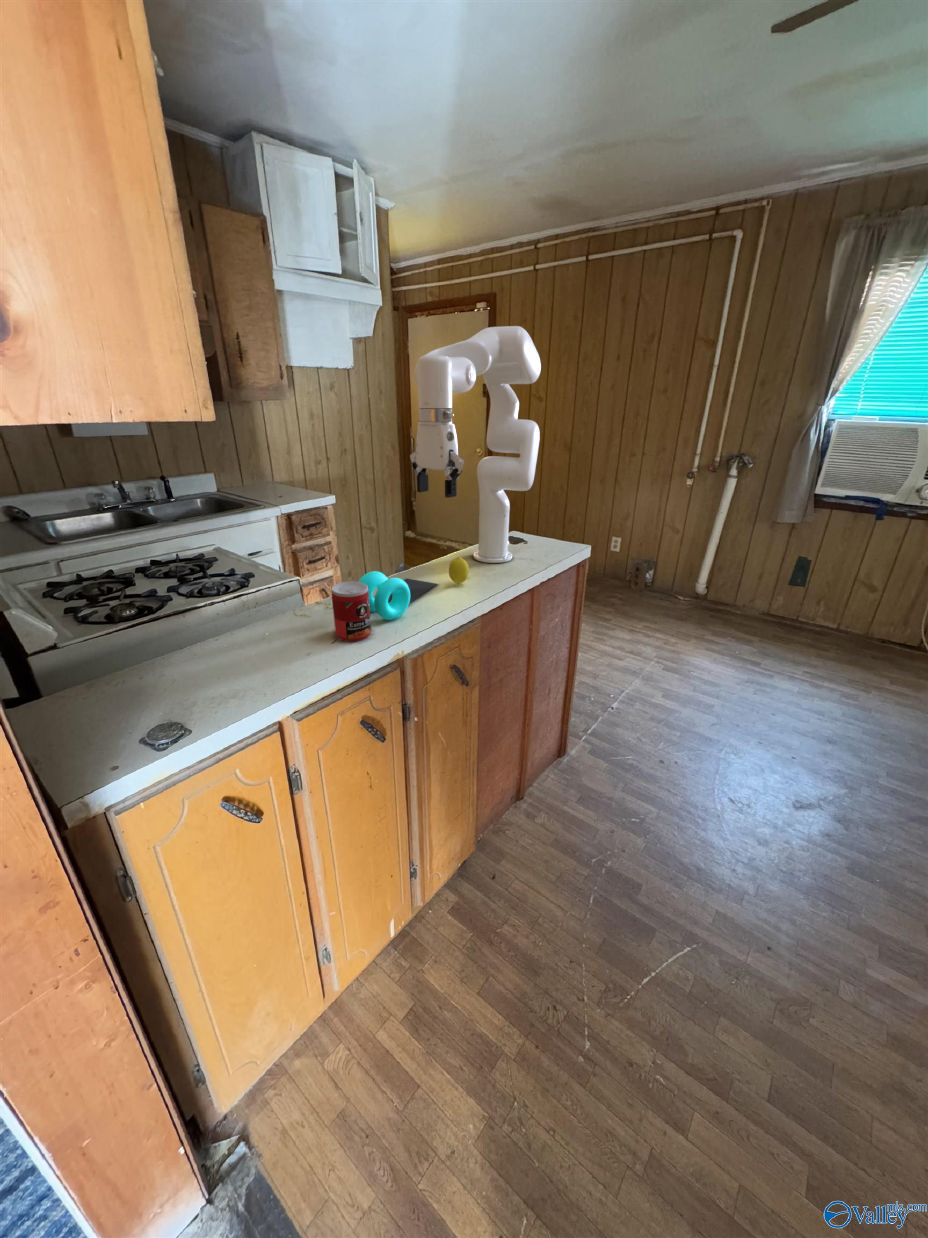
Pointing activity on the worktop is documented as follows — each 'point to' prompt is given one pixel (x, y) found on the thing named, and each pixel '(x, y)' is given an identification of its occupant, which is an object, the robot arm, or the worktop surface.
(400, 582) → the donuts
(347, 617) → the canned food
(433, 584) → the mat
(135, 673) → the worktop surface
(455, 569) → the lemon
